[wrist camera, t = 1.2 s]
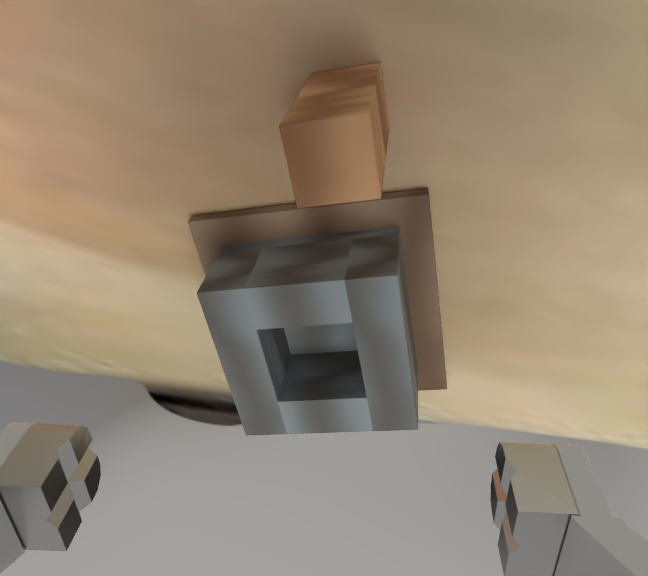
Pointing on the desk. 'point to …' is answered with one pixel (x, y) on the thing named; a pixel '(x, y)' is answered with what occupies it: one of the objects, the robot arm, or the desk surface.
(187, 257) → the desk surface
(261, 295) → the hole block
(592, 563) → the robot arm
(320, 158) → the peg
